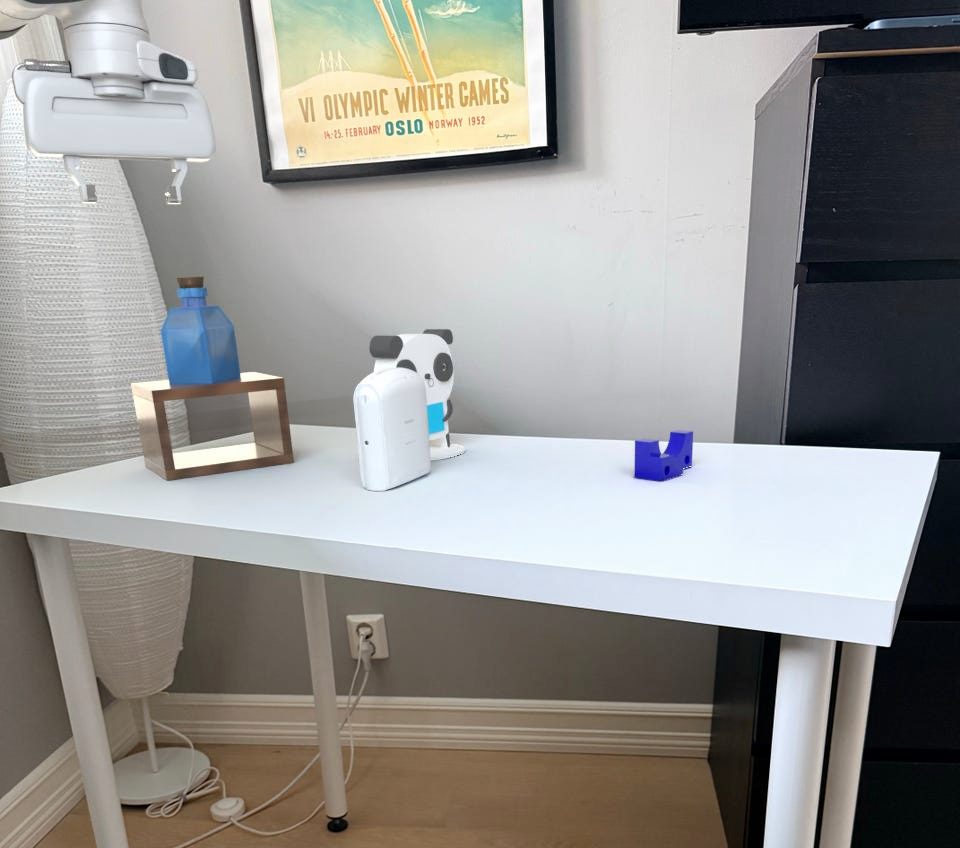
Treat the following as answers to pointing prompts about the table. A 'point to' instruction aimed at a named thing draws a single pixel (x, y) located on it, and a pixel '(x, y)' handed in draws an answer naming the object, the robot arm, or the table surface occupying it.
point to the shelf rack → (266, 450)
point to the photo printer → (392, 428)
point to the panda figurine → (425, 378)
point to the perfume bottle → (198, 339)
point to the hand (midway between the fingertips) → (132, 203)
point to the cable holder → (663, 457)
